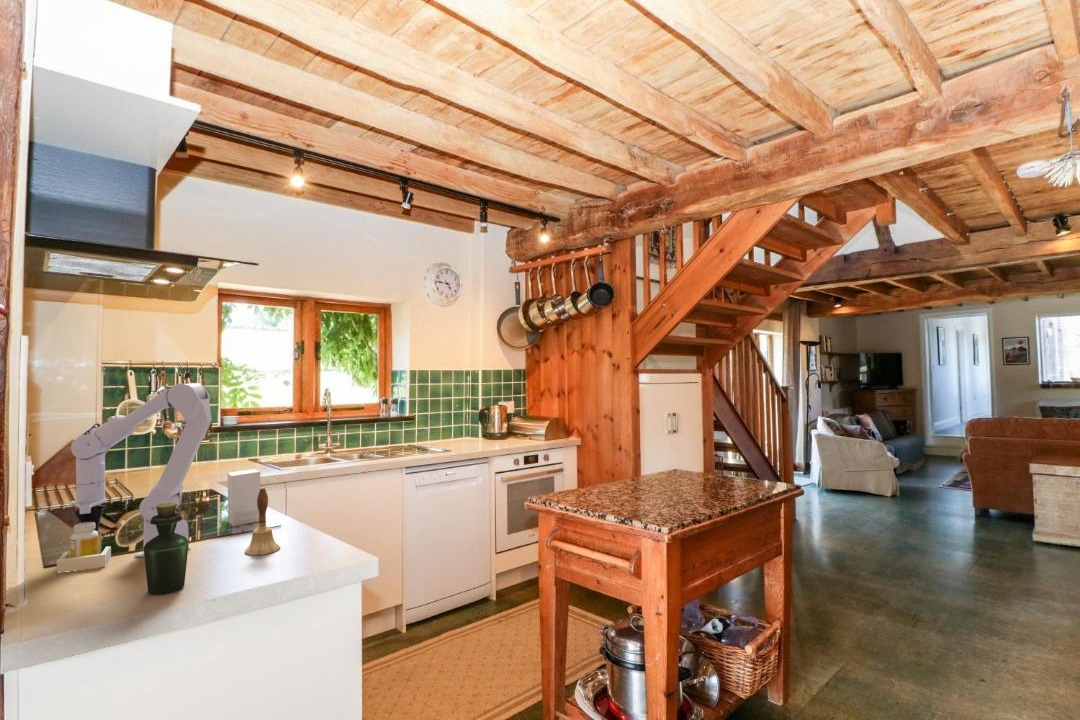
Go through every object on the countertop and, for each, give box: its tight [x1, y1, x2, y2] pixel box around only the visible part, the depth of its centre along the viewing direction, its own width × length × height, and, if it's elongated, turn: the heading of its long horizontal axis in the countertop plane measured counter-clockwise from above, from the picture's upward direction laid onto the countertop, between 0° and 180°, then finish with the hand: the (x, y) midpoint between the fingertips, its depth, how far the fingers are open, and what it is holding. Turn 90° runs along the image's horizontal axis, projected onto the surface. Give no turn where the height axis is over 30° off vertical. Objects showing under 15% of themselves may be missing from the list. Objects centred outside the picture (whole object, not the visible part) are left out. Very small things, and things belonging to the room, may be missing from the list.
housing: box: [56, 545, 112, 573], centre depth 137 cm, size 8×9×3 cm
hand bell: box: [244, 487, 281, 556], centre depth 148 cm, size 8×8×16 cm
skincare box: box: [227, 468, 261, 527], centre depth 176 cm, size 8×7×16 cm
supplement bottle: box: [69, 522, 100, 558], centre depth 138 cm, size 5×5×10 cm
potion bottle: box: [143, 503, 190, 596], centre depth 121 cm, size 8×8×18 cm
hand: (91, 536), depth 143 cm, fingers closed
